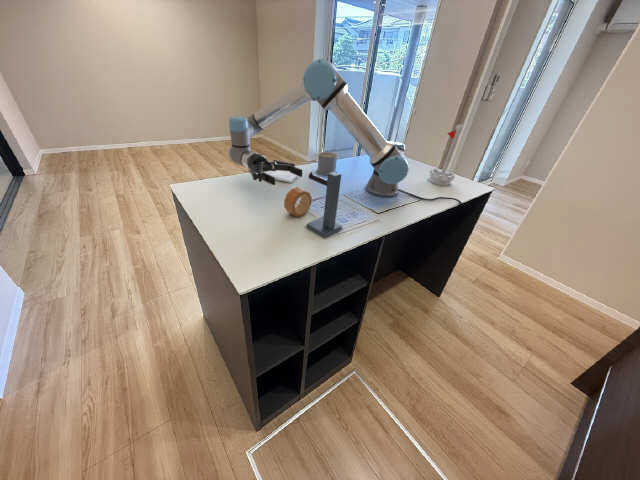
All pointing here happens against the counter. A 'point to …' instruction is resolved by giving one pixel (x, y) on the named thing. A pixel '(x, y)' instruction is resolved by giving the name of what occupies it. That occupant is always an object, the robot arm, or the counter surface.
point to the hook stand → (327, 206)
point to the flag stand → (443, 176)
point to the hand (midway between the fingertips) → (288, 177)
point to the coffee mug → (327, 163)
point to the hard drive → (283, 176)
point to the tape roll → (292, 199)
